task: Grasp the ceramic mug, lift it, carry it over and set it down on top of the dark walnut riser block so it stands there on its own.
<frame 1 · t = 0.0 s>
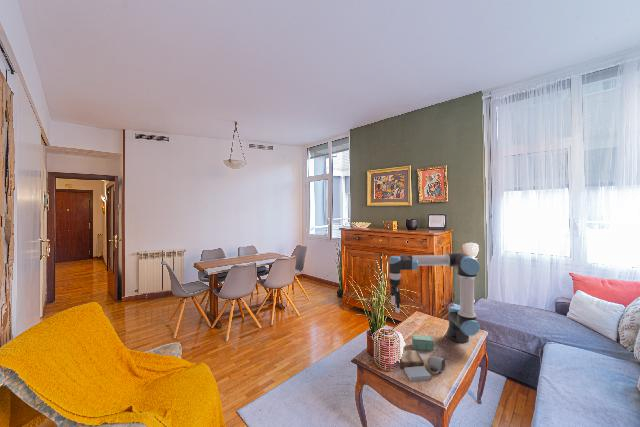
hand: (395, 308, 188), 28 cm above the table, fingers open, 13 cm apart
box: (422, 347, 188), on the table
ceramic mug: (436, 370, 163), on the table
walnut riser: (409, 362, 171), on the table
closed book: (417, 375, 158), on the table
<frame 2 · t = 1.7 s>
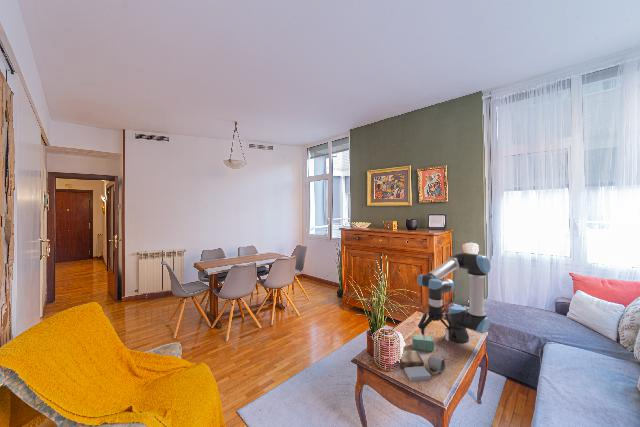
hand: (435, 339, 162), 19 cm above the table, fingers open, 13 cm apart
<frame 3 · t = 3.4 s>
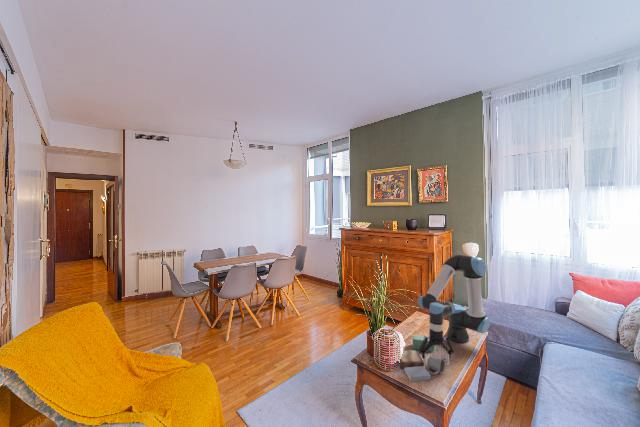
hand: (436, 363, 163), 4 cm above the table, fingers open, 13 cm apart
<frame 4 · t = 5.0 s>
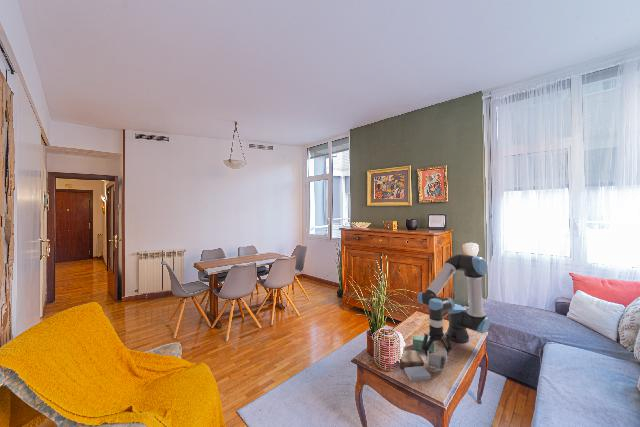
hand: (436, 360, 163), 6 cm above the table, fingers closed on ceramic mug, 10 cm apart
ceramic mug: (435, 368, 162), point 1 cm above the table, touching gripper
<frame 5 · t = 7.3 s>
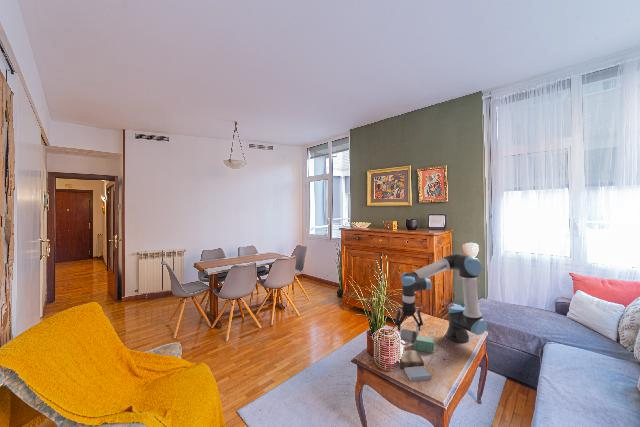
hand: (408, 335, 171), 17 cm above the table, fingers closed on ceramic mug, 10 cm apart
ceramic mug: (407, 342, 170), point 13 cm above the table, touching gripper
when the fingers open (9 cm above the table, at t = 9.7 s): ceramic mug stays where it is, resting on walnut riser.
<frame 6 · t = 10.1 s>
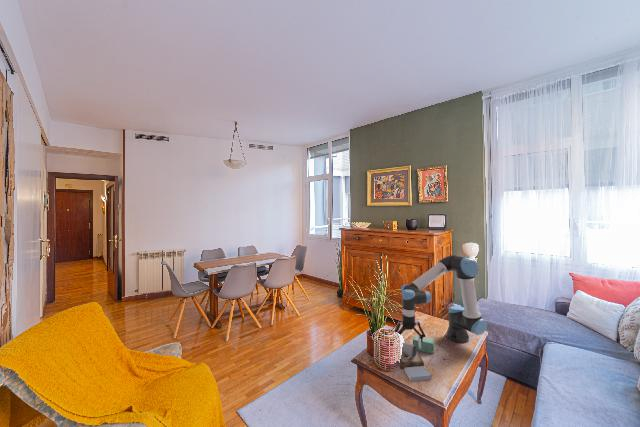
hand: (409, 347, 171), 10 cm above the table, fingers open, 13 cm apart
ceramic mug: (408, 356, 170), point 4 cm above the table, touching walnut riser
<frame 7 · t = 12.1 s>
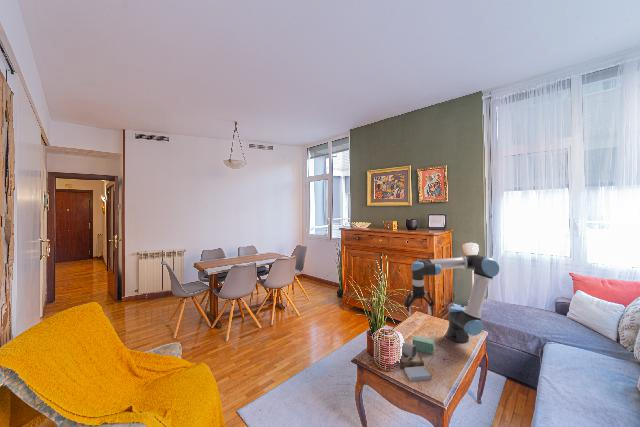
hand: (419, 315, 183), 25 cm above the table, fingers open, 13 cm apart
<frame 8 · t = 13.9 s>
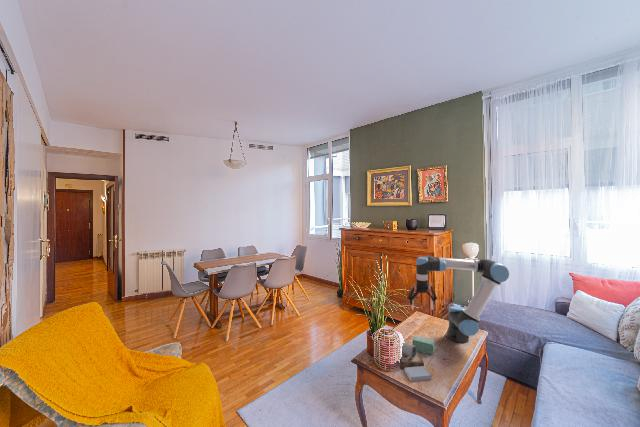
hand: (422, 309, 189), 27 cm above the table, fingers open, 13 cm apart
at the end: ceramic mug inside the target area on the walnut riser (1.8 cm from its centre), point 4.0 cm above the walnut riser's base; ceramic mug tilted 0°; the gripper is holding nothing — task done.
